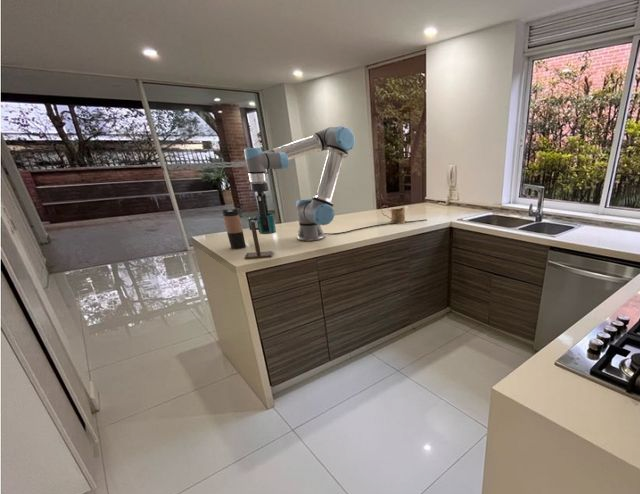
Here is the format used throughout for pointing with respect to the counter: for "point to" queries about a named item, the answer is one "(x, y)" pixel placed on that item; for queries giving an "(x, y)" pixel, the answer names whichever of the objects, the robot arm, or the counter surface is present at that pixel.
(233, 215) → the travel mug
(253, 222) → the mug stand
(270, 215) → the teal mug
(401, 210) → the mug
